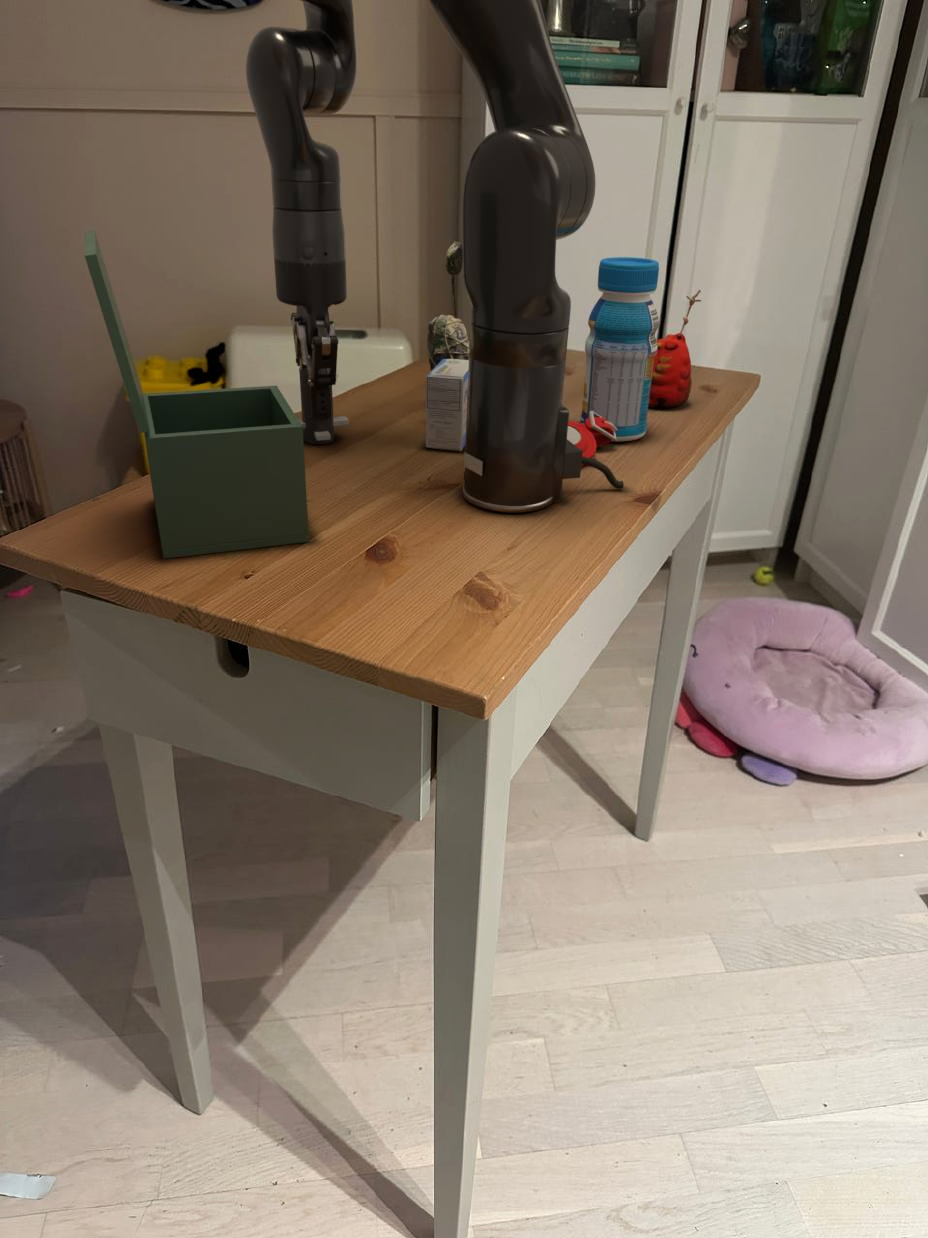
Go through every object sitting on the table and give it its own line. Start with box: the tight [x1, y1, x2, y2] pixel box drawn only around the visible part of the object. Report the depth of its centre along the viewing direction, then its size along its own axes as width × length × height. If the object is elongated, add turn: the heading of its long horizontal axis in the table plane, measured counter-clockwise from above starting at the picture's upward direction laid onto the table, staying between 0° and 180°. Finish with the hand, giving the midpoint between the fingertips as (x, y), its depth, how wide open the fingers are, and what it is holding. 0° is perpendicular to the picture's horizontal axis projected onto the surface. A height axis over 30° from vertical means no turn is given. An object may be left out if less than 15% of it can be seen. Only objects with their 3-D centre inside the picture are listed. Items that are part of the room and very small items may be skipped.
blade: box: [298, 368, 350, 445], centre depth 102 cm, size 7×6×8 cm
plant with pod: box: [426, 241, 470, 372], centre depth 112 cm, size 8×11×20 cm
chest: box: [143, 385, 310, 560], centre depth 80 cm, size 13×13×11 cm
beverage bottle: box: [579, 256, 660, 443], centre depth 105 cm, size 8×8×20 cm
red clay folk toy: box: [648, 289, 702, 409], centre depth 118 cm, size 8×7×15 cm
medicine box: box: [425, 359, 469, 452], centre depth 103 cm, size 8×4×9 cm, turn 168°
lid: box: [84, 230, 149, 434], centre depth 72 cm, size 13×13×1 cm
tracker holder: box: [567, 411, 617, 467], centre depth 103 cm, size 12×4×10 cm
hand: (317, 412), depth 103 cm, fingers closed on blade, 3 cm apart
